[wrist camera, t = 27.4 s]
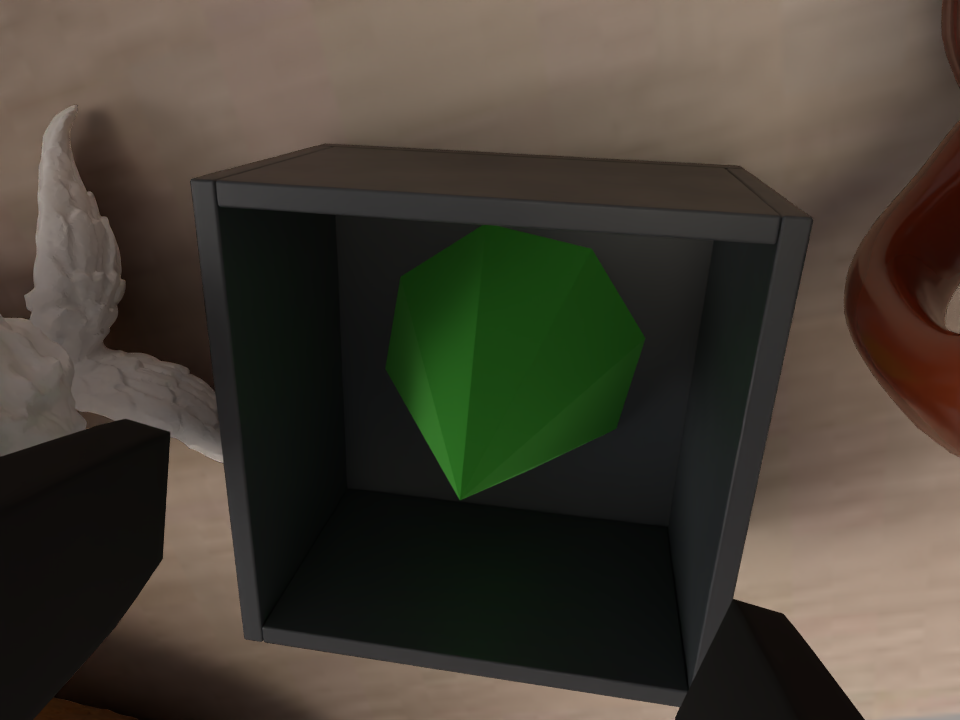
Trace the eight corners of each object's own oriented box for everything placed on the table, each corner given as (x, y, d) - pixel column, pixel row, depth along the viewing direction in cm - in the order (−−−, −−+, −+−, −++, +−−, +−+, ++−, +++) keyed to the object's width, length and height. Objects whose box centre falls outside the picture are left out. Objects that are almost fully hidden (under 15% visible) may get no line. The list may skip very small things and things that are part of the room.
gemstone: (659, 459, 17) (683, 652, 11) (413, 478, 18) (326, 660, 12) (629, 200, 14) (643, 280, 9) (354, 244, 16) (219, 337, 10)
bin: (339, 488, 19) (243, 640, 14) (323, 143, 16) (187, 178, 11) (680, 530, 18) (709, 712, 13) (742, 165, 14) (815, 217, 9)
